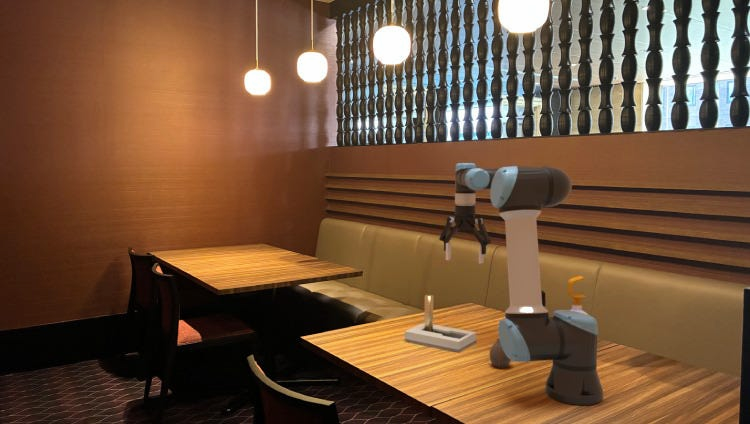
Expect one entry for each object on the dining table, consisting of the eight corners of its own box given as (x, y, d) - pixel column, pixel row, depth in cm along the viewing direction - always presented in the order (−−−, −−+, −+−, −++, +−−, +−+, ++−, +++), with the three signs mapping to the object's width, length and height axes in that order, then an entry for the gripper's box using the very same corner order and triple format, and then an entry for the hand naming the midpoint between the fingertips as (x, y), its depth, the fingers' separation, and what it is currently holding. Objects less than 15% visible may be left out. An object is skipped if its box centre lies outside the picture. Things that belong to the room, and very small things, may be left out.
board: (458, 352, 194) (458, 341, 194) (404, 341, 207) (404, 331, 207) (476, 342, 205) (476, 332, 205) (424, 332, 218) (424, 322, 218)
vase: (511, 370, 177) (512, 343, 176) (489, 368, 178) (489, 341, 178) (511, 363, 184) (511, 336, 183) (489, 361, 185) (489, 335, 184)
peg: (431, 340, 205) (432, 298, 204) (417, 337, 208) (417, 296, 207) (439, 336, 210) (440, 295, 208) (425, 333, 213) (426, 293, 212)
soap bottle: (593, 347, 200) (595, 279, 198) (567, 347, 200) (569, 279, 198) (584, 340, 209) (586, 274, 207) (559, 339, 209) (561, 274, 207)
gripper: (500, 205, 205) (499, 263, 206) (440, 203, 219) (439, 257, 221) (492, 206, 199) (491, 266, 200) (430, 204, 213) (430, 259, 215)
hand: (464, 261), depth 211 cm, fingers open, 13 cm apart
